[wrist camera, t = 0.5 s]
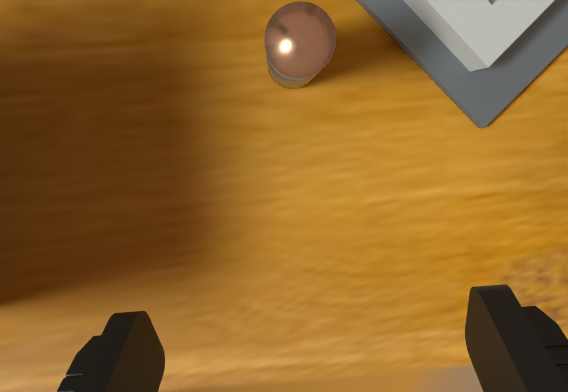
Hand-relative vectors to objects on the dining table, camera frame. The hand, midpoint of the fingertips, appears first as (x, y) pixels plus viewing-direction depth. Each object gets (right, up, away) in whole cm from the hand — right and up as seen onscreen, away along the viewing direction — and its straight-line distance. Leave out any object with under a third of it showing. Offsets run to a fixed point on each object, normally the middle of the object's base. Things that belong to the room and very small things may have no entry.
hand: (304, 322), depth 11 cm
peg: (0, +14, +24) cm, 27 cm away
